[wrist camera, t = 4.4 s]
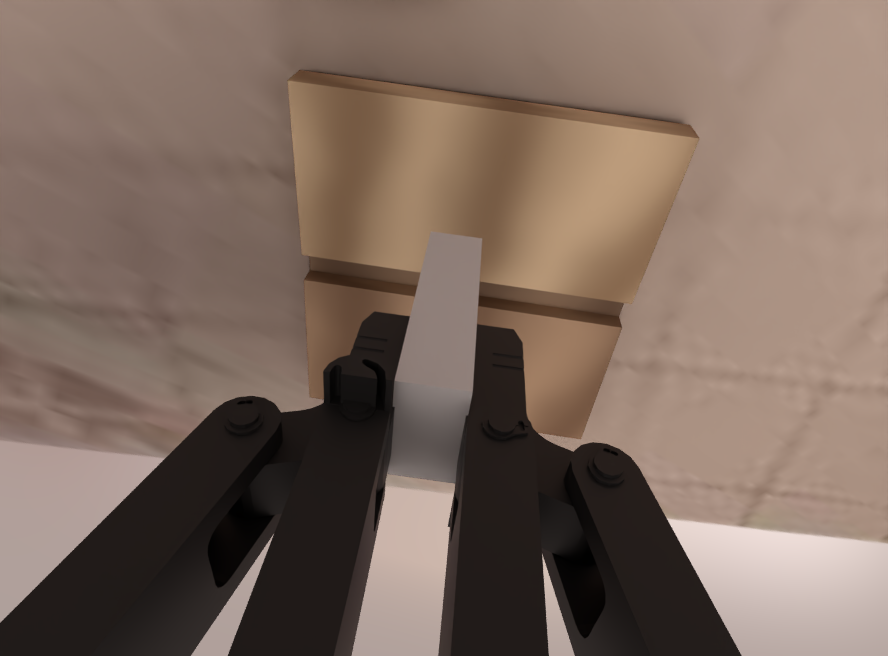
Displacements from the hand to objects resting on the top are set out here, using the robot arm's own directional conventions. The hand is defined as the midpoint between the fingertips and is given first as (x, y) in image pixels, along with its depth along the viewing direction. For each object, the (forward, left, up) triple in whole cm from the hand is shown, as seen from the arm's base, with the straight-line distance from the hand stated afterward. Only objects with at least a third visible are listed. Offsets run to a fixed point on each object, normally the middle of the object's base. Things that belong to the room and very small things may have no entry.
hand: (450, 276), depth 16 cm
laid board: (0, -10, -10) cm, 14 cm away
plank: (0, -1, -10) cm, 10 cm away
